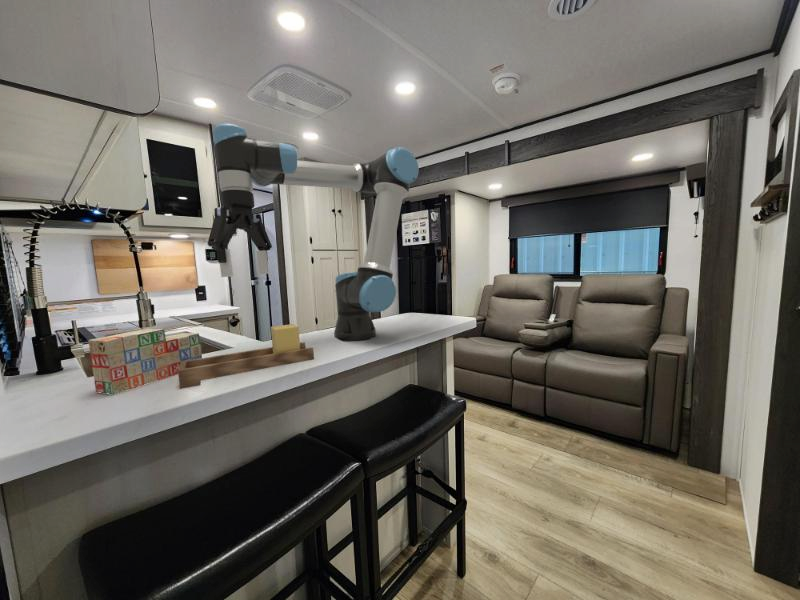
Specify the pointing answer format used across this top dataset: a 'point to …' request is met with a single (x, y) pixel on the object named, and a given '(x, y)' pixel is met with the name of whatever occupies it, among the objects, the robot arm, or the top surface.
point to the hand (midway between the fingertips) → (247, 275)
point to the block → (285, 338)
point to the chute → (238, 364)
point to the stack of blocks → (139, 358)
